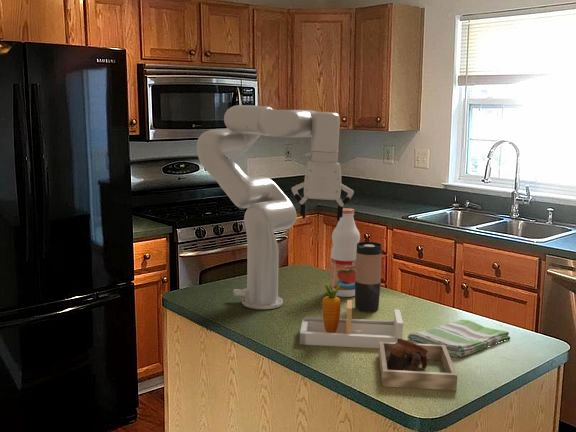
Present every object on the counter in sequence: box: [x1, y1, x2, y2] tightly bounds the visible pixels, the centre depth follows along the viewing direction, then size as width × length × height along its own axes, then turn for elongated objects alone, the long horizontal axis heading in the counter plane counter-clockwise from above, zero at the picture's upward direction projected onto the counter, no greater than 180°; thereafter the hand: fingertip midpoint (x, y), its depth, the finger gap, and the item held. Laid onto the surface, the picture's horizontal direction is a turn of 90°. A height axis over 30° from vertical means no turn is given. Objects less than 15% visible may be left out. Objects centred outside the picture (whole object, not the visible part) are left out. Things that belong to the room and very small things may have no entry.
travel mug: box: [354, 241, 383, 313], centre depth 194 cm, size 8×8×20 cm
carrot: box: [321, 283, 341, 333], centre depth 168 cm, size 5×5×15 cm
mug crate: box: [378, 342, 458, 391], centre depth 149 cm, size 16×18×4 cm
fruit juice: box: [329, 207, 361, 298], centre depth 208 cm, size 9×9×28 cm
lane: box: [299, 309, 404, 349], centre depth 169 cm, size 26×11×7 cm, turn 85°
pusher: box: [346, 299, 362, 334], centre depth 168 cm, size 4×7×9 cm, turn 175°
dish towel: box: [407, 319, 511, 359], centre depth 171 cm, size 17×23×4 cm
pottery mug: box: [386, 338, 428, 371], centre depth 149 cm, size 12×10×8 cm
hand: (321, 218), depth 179 cm, fingers open, 9 cm apart
